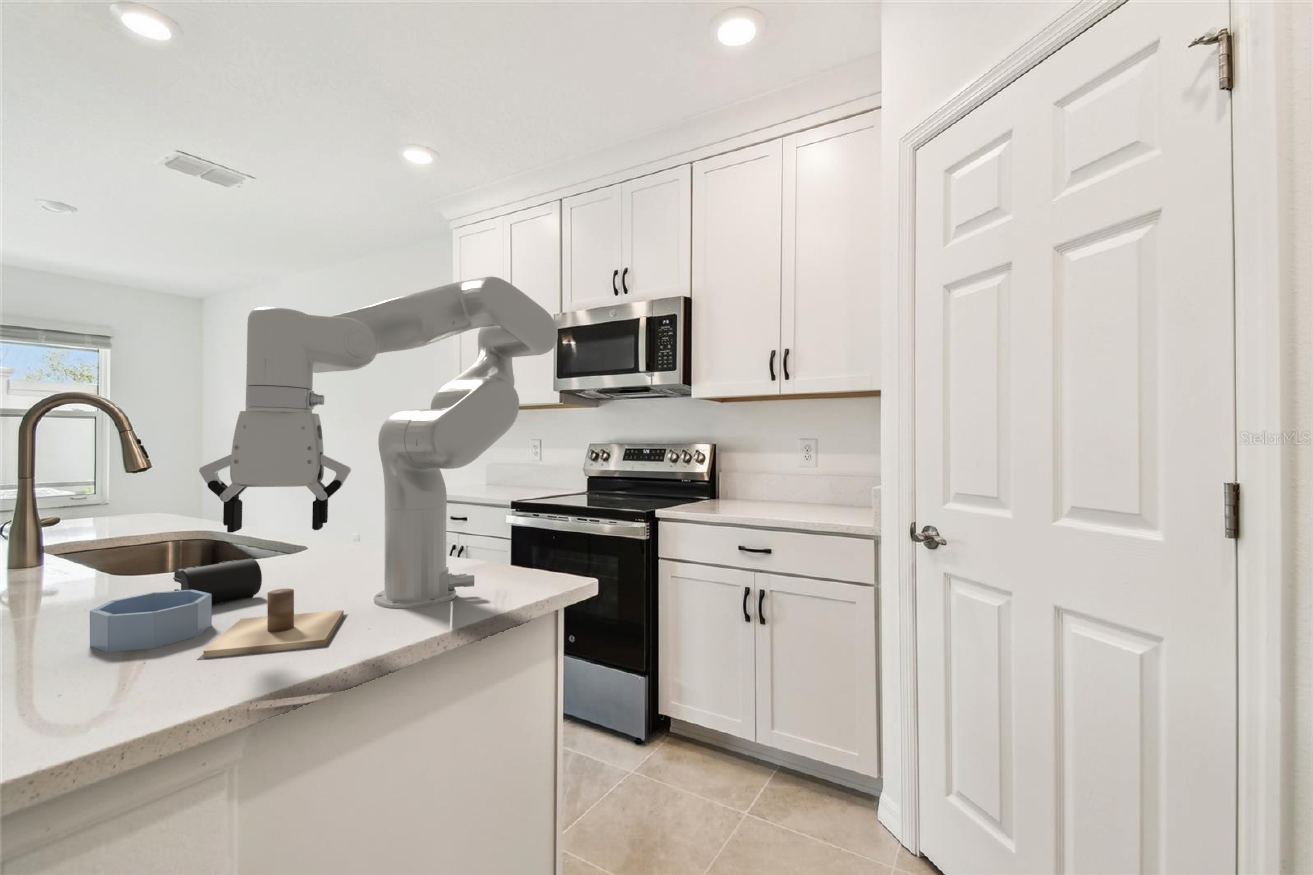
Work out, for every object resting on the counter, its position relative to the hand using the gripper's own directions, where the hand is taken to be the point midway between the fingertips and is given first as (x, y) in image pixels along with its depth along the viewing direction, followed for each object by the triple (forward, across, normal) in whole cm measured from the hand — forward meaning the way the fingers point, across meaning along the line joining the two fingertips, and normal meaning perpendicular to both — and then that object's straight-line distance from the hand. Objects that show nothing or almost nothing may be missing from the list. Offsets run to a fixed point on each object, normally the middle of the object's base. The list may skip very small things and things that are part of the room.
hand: (276, 529), depth 79 cm
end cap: (+15, +13, -22) cm, 29 cm away
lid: (+14, -1, 0) cm, 14 cm away
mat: (+15, -1, 0) cm, 15 cm away
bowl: (+15, +15, -6) cm, 22 cm away
